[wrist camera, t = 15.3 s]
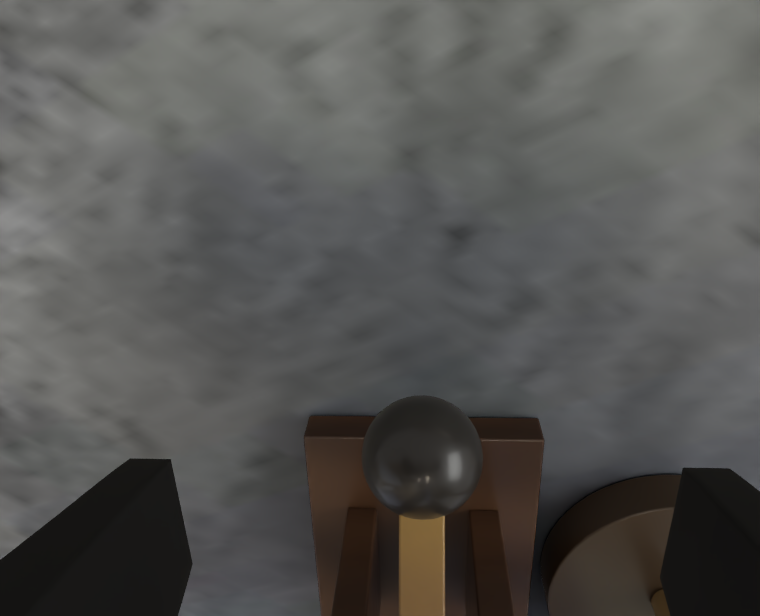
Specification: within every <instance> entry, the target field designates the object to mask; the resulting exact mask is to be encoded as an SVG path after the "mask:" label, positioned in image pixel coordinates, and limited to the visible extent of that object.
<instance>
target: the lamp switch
mask: <svg viewBox="0 0 760 616" xmlns="http://www.w3.org/2000/svg"><path fill="white" fill-rule="evenodd" d="M361 457H362V468H363V473H364V476H365V479H366V482H367V484H368V486H369V488H370V489H371V491H372V493H373V494H374V495H375V497H376V498H377V499H378V500H379V501H380V502H381V503H382V504H383V505H384V506H385V507H386V508H388V509H389V510H391V511H392V512H394V513H396V514H398V515H399V616H445V516H446V515H448V514H450V513H452V512H454V511H455V510H457V509H458V508H460V507H461V506H462V505H463V504H464V503H465V502H466V501H467V500H468V499H469V498H470V496H471V495H472V493H473V492H474V490H475V489H476V487H477V485H478V483H479V480H480V477H481V473H482V468H483V450H482V445H481V441H480V438H479V435H478V433H477V431H476V429H475V427H474V425H473V424H472V422H471V421H470V419H469V418H468V417H467V416H466V415H465V414H464V413H463V412H462V411H461V410H460V409H459V408H457V407H456V406H454V405H453V404H451V403H449V402H447V401H445V400H442V399H440V398H436V397H432V396H411V397H406V398H403V399H400V400H398V401H396V402H394V403H392V404H390V405H389V406H387V407H386V408H384V409H383V410H382V411H381V412H380V413H379V414H378V415H377V416H376V417H375V418H374V420H373V421H372V423H371V424H370V426H369V428H368V430H367V432H366V435H365V438H364V442H363V447H362V456H361Z"/></svg>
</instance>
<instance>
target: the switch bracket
mask: <svg viewBox="0 0 760 616" xmlns="http://www.w3.org/2000/svg"><path fill="white" fill-rule="evenodd" d="M375 417H376V416H310V417H309V420H308V424H307V427H306V431H305V435H304V445H305V455H306V465H307V475H308V486H309V496H310V506H311V516H312V526H313V536H314V547H315V557H316V567H317V577H318V587H319V598H320V608H321V616H399V515H398V514H396V513H394V512H392V511H391V510H389V509H388V508H386V507H385V506H384V505H383V504H382V503H381V502H380V501H379V500H378V499H377V498H376V497H375V495H374V494H373V493H372V491H371V489H370V488H369V486H368V484H367V482H366V479H365V476H364V473H363V468H362V457H361V456H362V447H363V442H364V438H365V435H366V432H367V430H368V428H369V426H370V424H371V423H372V421H373V420H374V418H375ZM469 419H470V421H471V422H472V424H473V425H474V427H475V429H476V431H477V433H478V435H479V438H480V441H481V445H482V450H483V468H482V473H481V477H480V480H479V483H478V485H477V487H476V489H475V490H474V492H473V493H472V495H471V496H470V498H469V499H468V500H467V501H466V502H465V503H464V504H463V505H462V506H461V507H460V508H458V509H457V510H455V511H454V512H452V513H450V514H448V515H446V516H445V616H528V605H529V595H530V585H531V574H532V564H533V554H534V543H535V533H536V523H537V512H538V502H539V491H540V481H541V471H542V460H543V450H544V437H543V434H542V430H541V427H540V423H539V420H538V419H537V418H469Z"/></svg>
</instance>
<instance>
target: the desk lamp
mask: <svg viewBox="0 0 760 616" xmlns="http://www.w3.org/2000/svg"><path fill="white" fill-rule="evenodd" d="M680 479H681V475H652V476H644V477H638V478H633V479H629V480H625V481H622V482H618V483H615V484H613V485H610V486H608V487H605V488H602V489H601V490H599V491H597V492H595V493H593V494H591V495H589V496H587V497H586V498H584V499H583V500H581V501H580V502H578V503H577V504H576V505H574V506H573V507H572V508H571V509H570V510H568V511H567V512H566V513H565V514H564V515H563V516H562V518H561V519H560V520H559V521H558V522H557V523H556V525H555V526H554V528H553V529H552V530H551V532H550V534H549V536H548V538H547V540H546V542H545V545H544V548H543V551H542V555H541V563H540V568H541V578H542V583H543V588H544V593H545V598H546V602H547V607H548V612H549V616H670V612H669V609H668V605H667V602H666V598H665V595H664V591H663V587H662V584H661V580H660V573H661V568H662V564H663V559H664V554H665V550H666V545H667V540H668V536H669V531H670V526H671V522H672V517H673V512H674V508H675V503H676V498H677V494H678V489H679V484H680Z"/></svg>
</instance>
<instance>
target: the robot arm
mask: <svg viewBox="0 0 760 616" xmlns="http://www.w3.org/2000/svg"><path fill="white" fill-rule="evenodd" d="M191 568H192V559H191V554H190V549H189V545H188V540H187V535H186V530H185V526H184V521H183V516H182V511H181V506H180V502H179V497H178V492H177V487H176V483H175V478H174V473H173V468H172V464H171V459H129V460H128V461H126V462H125V463H123V464H122V465H121V466H119V467H118V468H117V469H115V470H114V471H113V472H111V473H110V474H109V475H107V476H106V477H105V478H104V479H102V480H101V481H100V482H98V483H97V484H96V485H95V486H93V487H92V488H91V489H90V490H88V491H87V492H86V493H85V494H83V495H82V496H81V497H80V498H78V499H77V500H76V501H75V502H73V503H72V504H71V505H70V506H68V507H67V508H66V509H65V510H63V511H62V512H61V513H60V514H58V515H57V516H56V517H55V518H53V519H52V520H51V521H49V522H48V523H47V524H46V525H44V526H43V527H42V528H41V529H39V530H38V531H37V532H35V533H34V534H33V535H32V536H30V537H29V538H28V539H26V540H25V541H24V542H23V543H21V544H20V545H19V546H18V547H16V548H15V549H14V550H12V551H11V552H10V553H9V554H7V555H6V556H5V557H4V558H2V559H1V560H0V616H178V613H179V610H180V607H181V603H182V600H183V596H184V593H185V589H186V586H187V582H188V578H189V575H190V571H191ZM660 580H661V584H662V587H663V591H664V595H665V598H666V602H667V605H668V609H669V612H670V616H760V491H758V490H757V489H756V488H755V487H753V486H752V485H751V484H749V483H748V482H747V481H745V480H744V479H743V478H741V477H740V476H739V475H737V474H736V473H735V472H733V471H732V470H731V469H724V468H683V470H682V475H681V479H680V484H679V489H678V494H677V498H676V503H675V508H674V512H673V517H672V522H671V526H670V531H669V536H668V540H667V545H666V550H665V554H664V559H663V564H662V568H661V573H660Z"/></svg>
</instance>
